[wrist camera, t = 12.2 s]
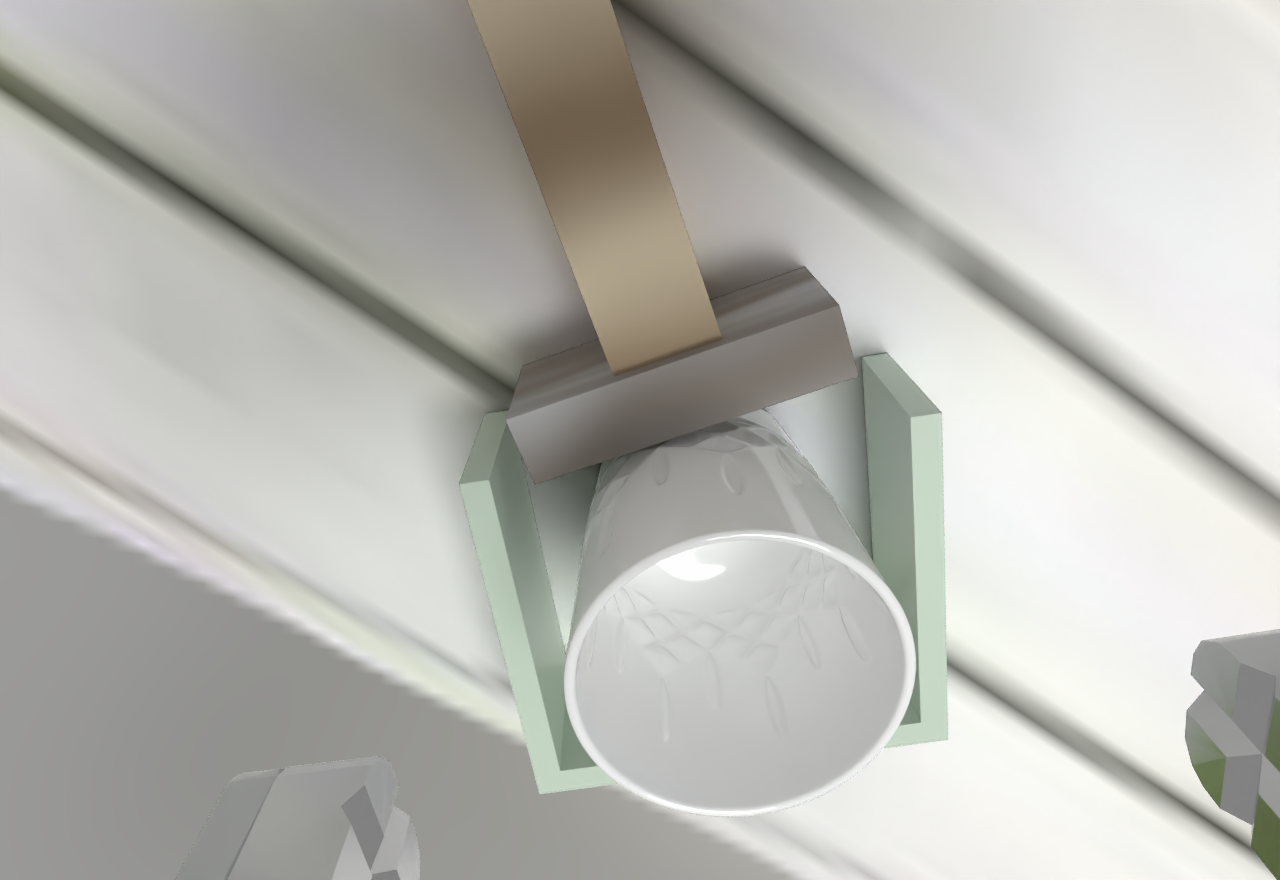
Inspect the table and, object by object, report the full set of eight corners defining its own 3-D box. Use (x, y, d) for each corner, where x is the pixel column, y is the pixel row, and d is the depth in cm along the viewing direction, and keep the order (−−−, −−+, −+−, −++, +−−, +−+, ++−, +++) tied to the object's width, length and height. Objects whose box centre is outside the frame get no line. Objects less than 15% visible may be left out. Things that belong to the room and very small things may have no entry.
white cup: (829, 371, 28) (940, 529, 18) (809, 588, 31) (894, 815, 22) (575, 372, 27) (558, 533, 18) (580, 591, 30) (568, 821, 21)
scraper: (342, -54, 23) (281, -78, 19) (674, -194, 22) (687, -252, 18) (546, 421, 28) (534, 484, 24) (822, 327, 27) (858, 376, 23)
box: (485, 413, 28) (458, 484, 23) (887, 353, 27) (942, 412, 23) (550, 688, 32) (539, 794, 28) (900, 640, 32) (948, 739, 27)
